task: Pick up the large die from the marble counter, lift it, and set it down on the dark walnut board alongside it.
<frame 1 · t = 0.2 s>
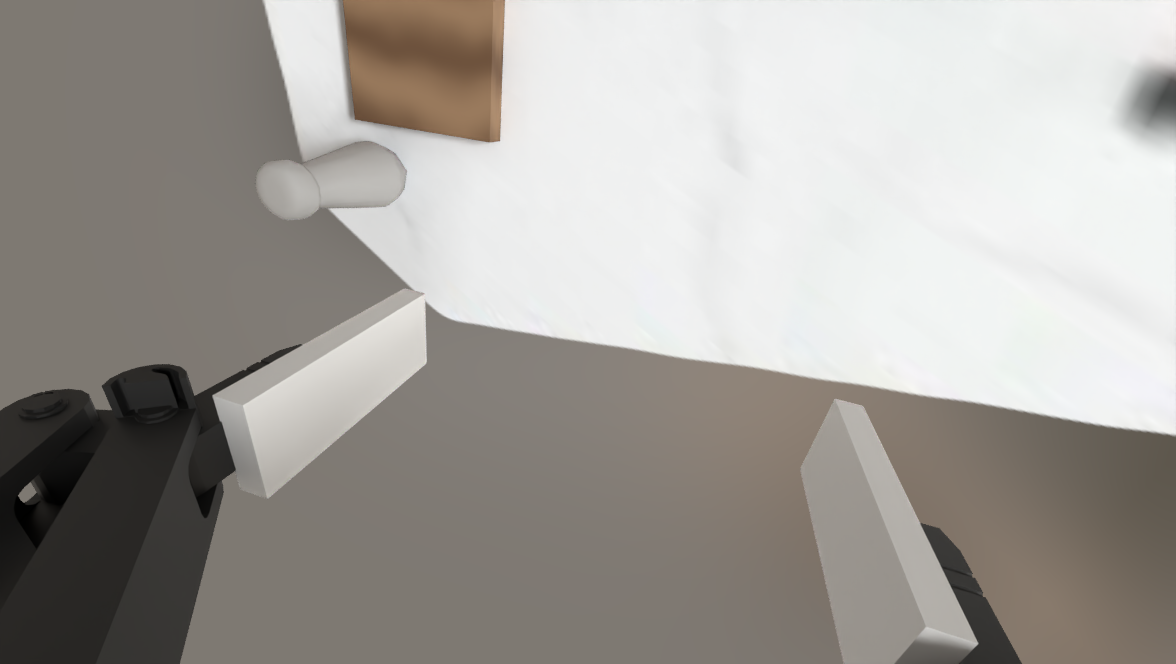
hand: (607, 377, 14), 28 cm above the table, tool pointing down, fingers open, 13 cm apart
walnut board: (430, 45, 38), on the table
salt shaker: (389, 172, 44), on the table
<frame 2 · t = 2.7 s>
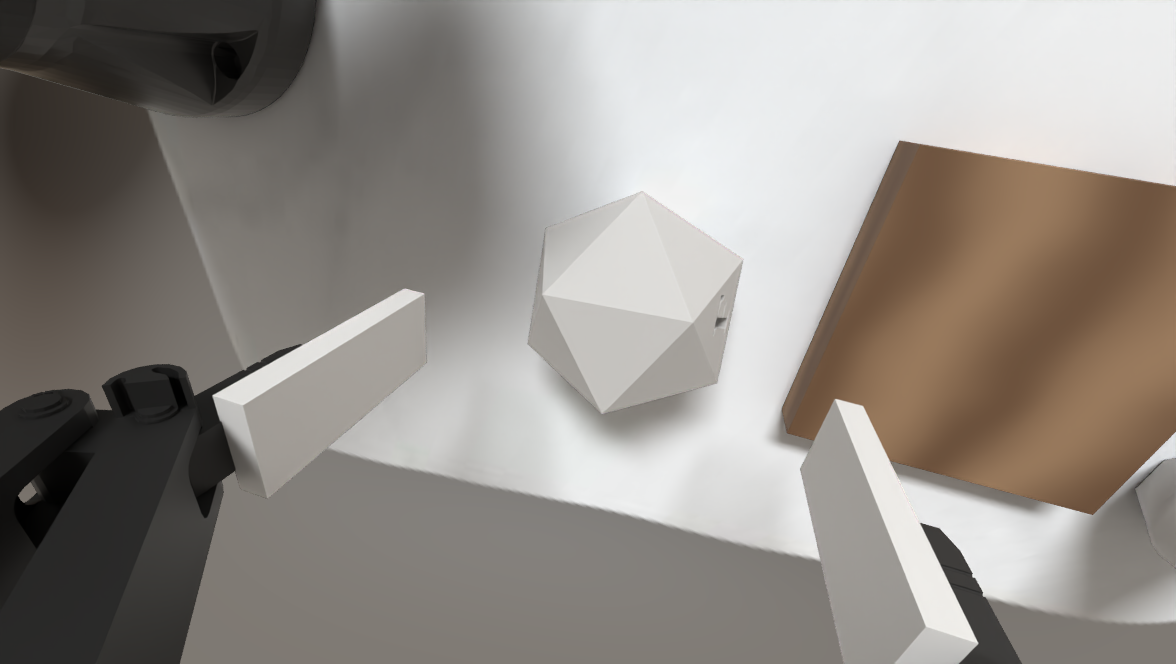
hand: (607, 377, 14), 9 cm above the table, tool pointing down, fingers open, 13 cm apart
walnut board: (989, 329, 19), on the table
die: (643, 272, 22), on the table
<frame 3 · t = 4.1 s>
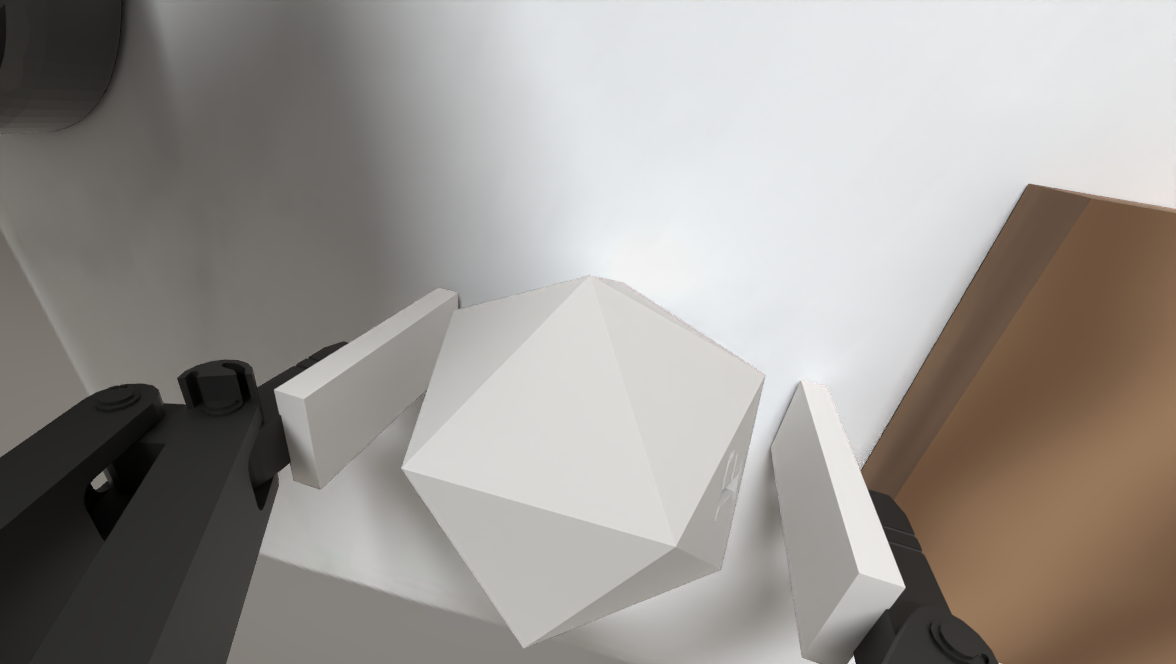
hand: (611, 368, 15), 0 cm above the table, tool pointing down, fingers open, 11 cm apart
walnut board: (1152, 475, 12), on the table
die: (613, 361, 15), on the table
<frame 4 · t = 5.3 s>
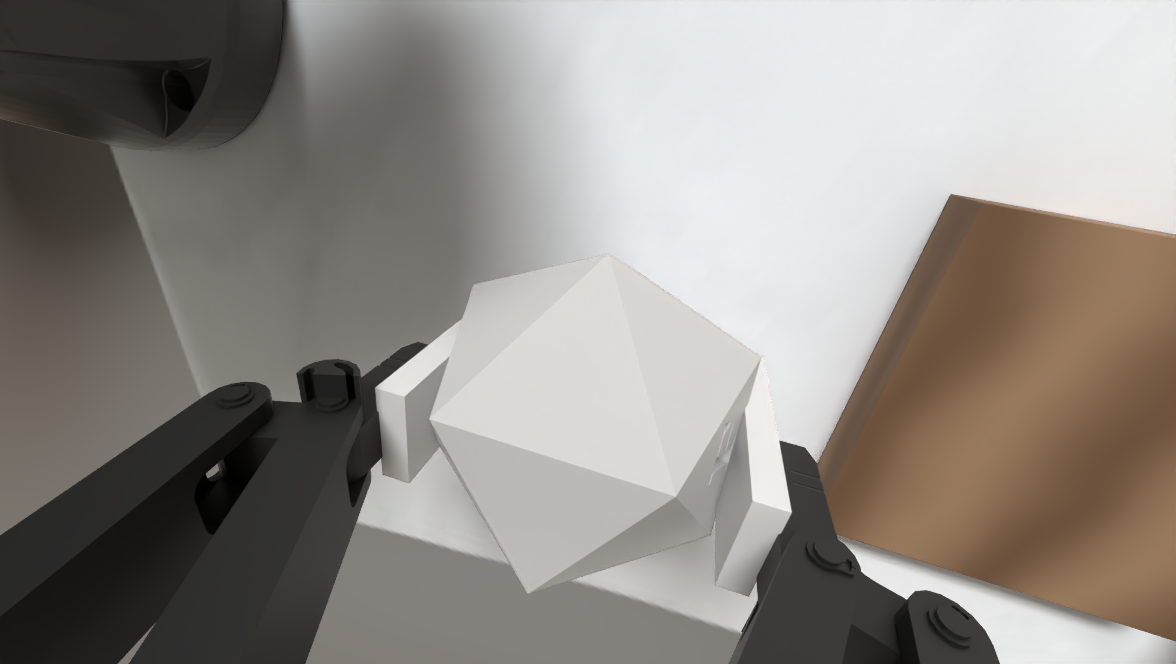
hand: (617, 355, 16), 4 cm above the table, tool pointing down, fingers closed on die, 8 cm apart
walnut board: (1058, 415, 16), on the table
die: (618, 342, 16), point 3 cm above the table, touching gripper
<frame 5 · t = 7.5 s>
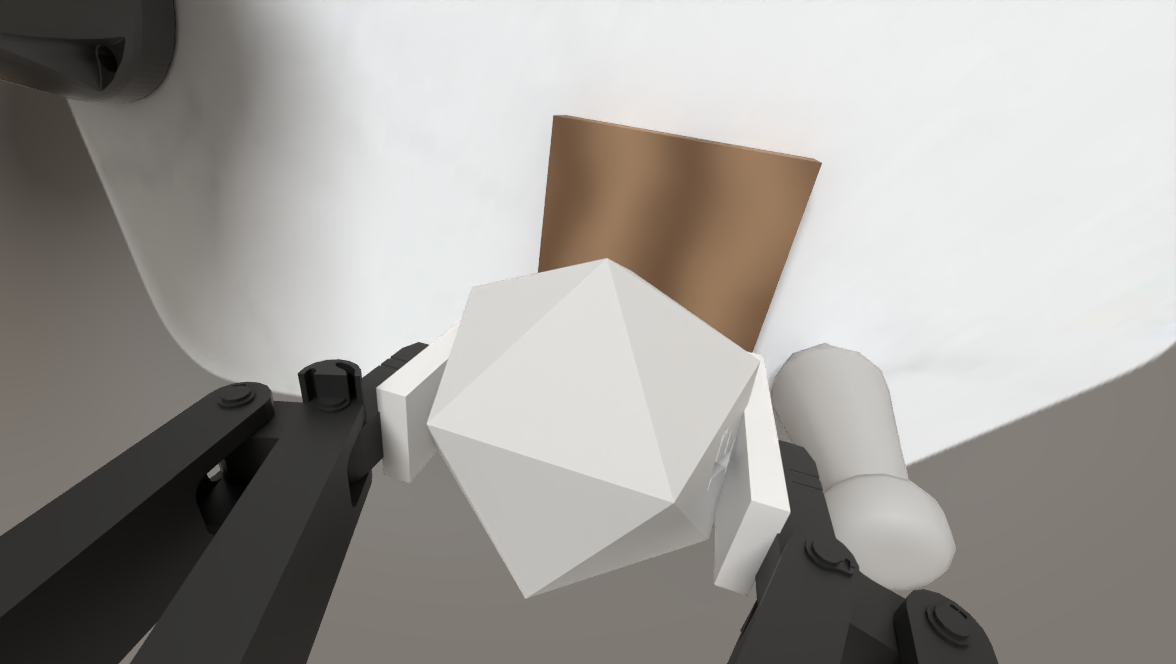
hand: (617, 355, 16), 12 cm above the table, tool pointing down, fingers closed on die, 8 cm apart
walnut board: (657, 255, 27), on the table
die: (616, 345, 16), point 12 cm above the table, touching gripper
salt shaker: (818, 372, 27), on the table
when the fingers open (3 cm above the table, at t = 9.9 s): die stays where it is, resting on walnut board.
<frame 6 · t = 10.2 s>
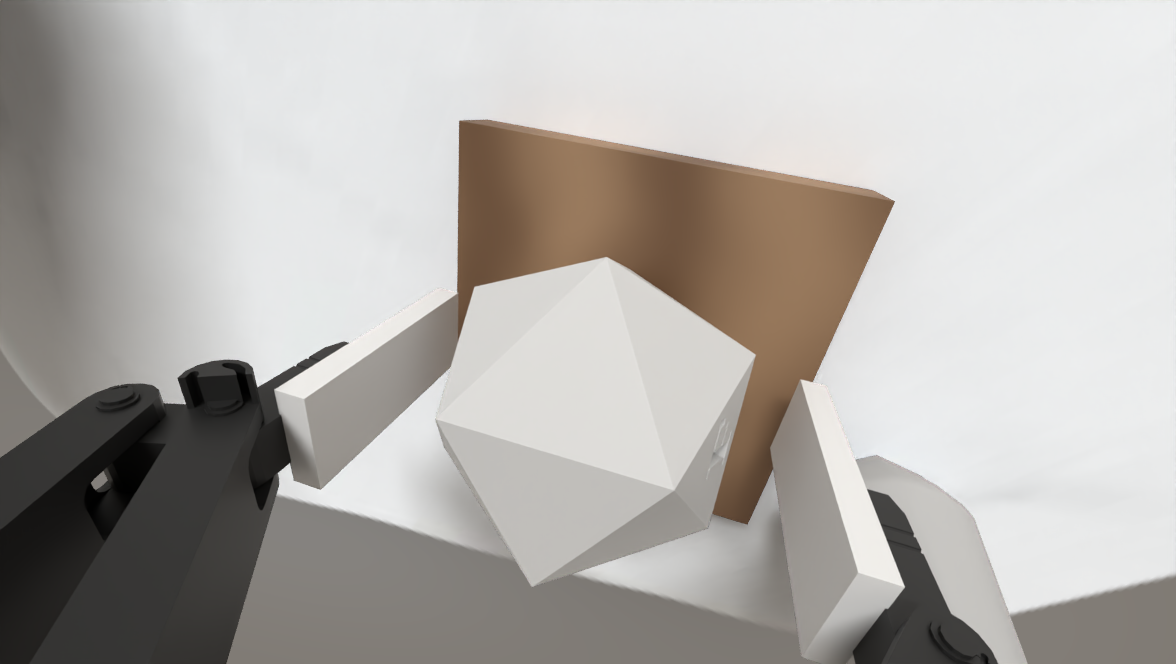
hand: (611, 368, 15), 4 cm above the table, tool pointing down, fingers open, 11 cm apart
walnut board: (630, 324, 18), on the table
die: (616, 342, 17), point 2 cm above the table, touching walnut board
salt shaker: (865, 492, 19), on the table
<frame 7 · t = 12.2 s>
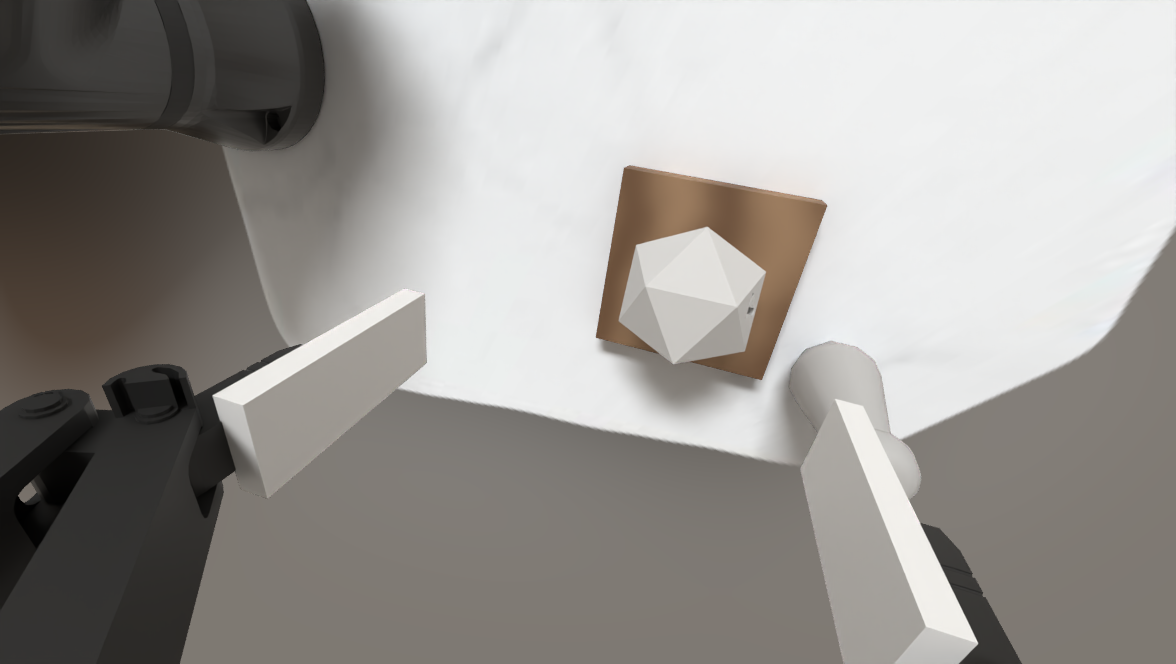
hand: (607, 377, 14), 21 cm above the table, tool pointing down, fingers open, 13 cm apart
walnut board: (698, 271, 34), on the table
die: (693, 278, 32), point 2 cm above the table, touching walnut board
salt shaker: (826, 364, 34), on the table
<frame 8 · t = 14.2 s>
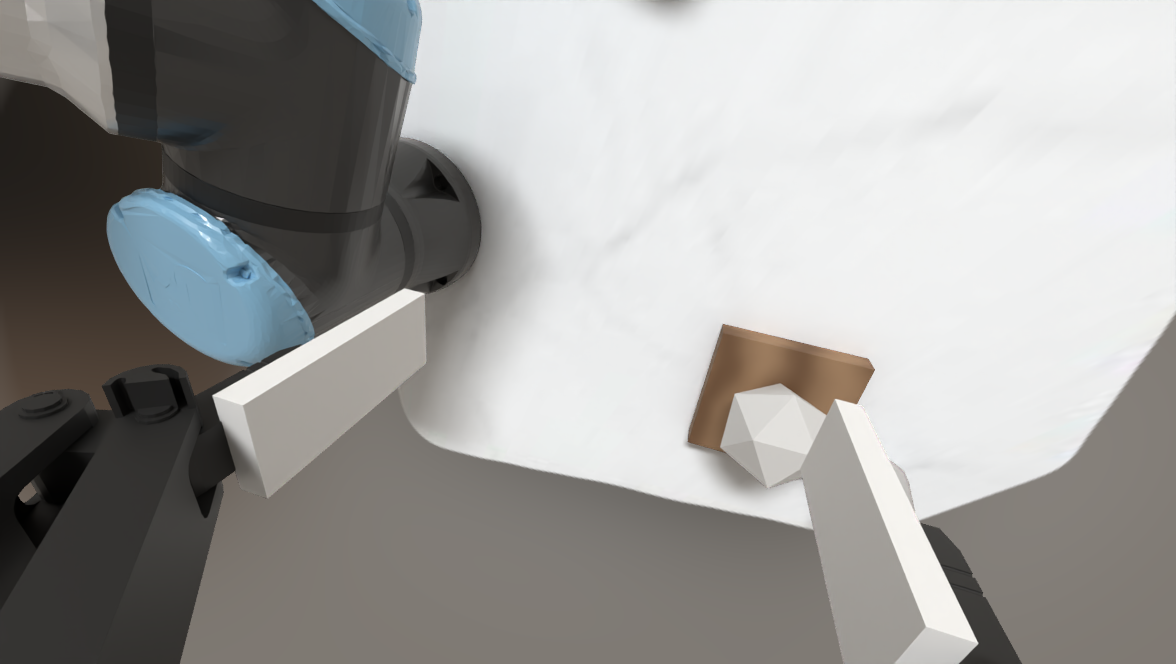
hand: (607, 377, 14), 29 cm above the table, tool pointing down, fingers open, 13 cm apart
walnut board: (770, 397, 45), on the table
die: (769, 407, 43), point 2 cm above the table, touching walnut board
salt shaker: (865, 466, 46), on the table
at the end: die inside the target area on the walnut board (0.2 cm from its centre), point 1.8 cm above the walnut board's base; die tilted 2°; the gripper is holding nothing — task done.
